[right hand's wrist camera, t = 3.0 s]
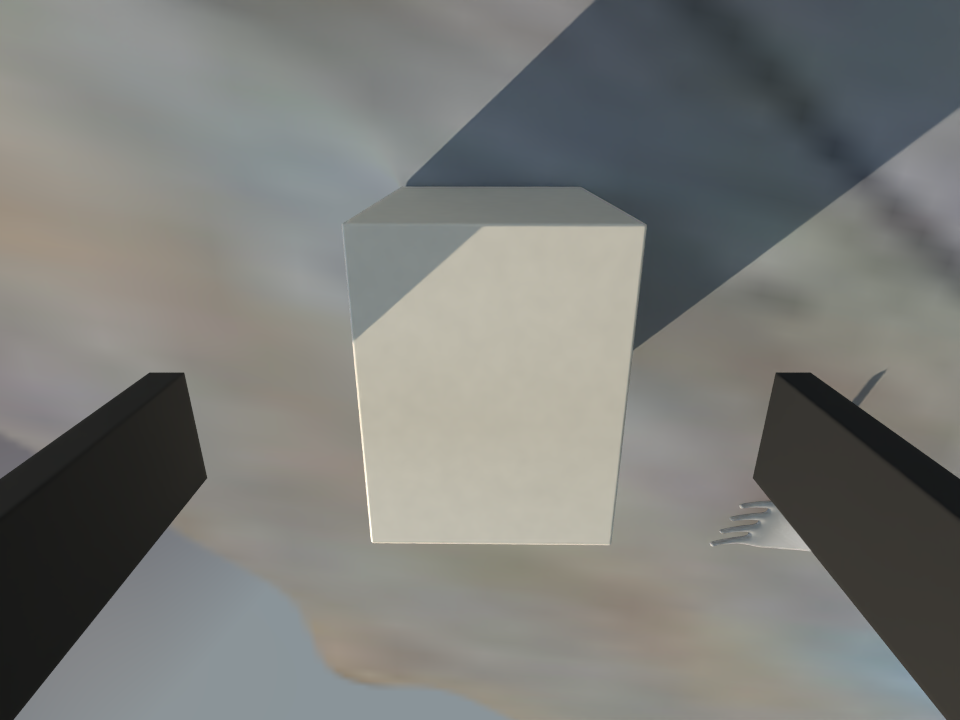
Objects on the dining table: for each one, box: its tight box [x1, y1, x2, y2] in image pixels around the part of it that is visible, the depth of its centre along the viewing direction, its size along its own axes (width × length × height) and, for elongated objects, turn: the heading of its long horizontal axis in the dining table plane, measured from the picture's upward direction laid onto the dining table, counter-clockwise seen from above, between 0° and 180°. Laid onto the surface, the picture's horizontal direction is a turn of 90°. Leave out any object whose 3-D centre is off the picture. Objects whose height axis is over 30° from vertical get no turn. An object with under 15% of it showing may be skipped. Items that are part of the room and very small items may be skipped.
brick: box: [342, 187, 647, 545], centre depth 17 cm, size 8×6×9 cm
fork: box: [710, 501, 811, 551], centre depth 25 cm, size 3×16×2 cm, turn 65°
